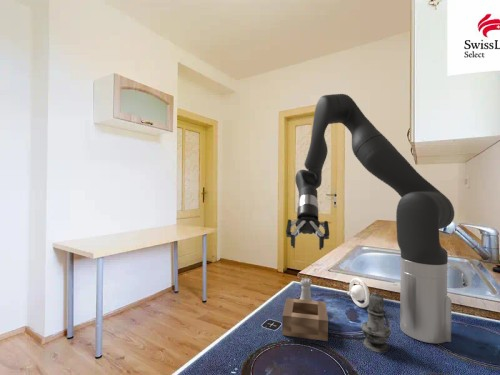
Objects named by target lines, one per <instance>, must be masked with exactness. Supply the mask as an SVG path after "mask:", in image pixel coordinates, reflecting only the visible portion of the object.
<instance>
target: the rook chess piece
mask: <svg viewBox="0 0 500 375" xmlns="http://www.w3.org/2000/svg"><path fill="white" fill-rule="evenodd" d="M300 284H301V287H300V288H301V293H300V298H299V299H301V300H311V301H314V300H313V298H312V293H311V289H312V286H311V285H312V284H313V282H312V279H311V278H307V277H302V278H301V280H300Z"/></svg>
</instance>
